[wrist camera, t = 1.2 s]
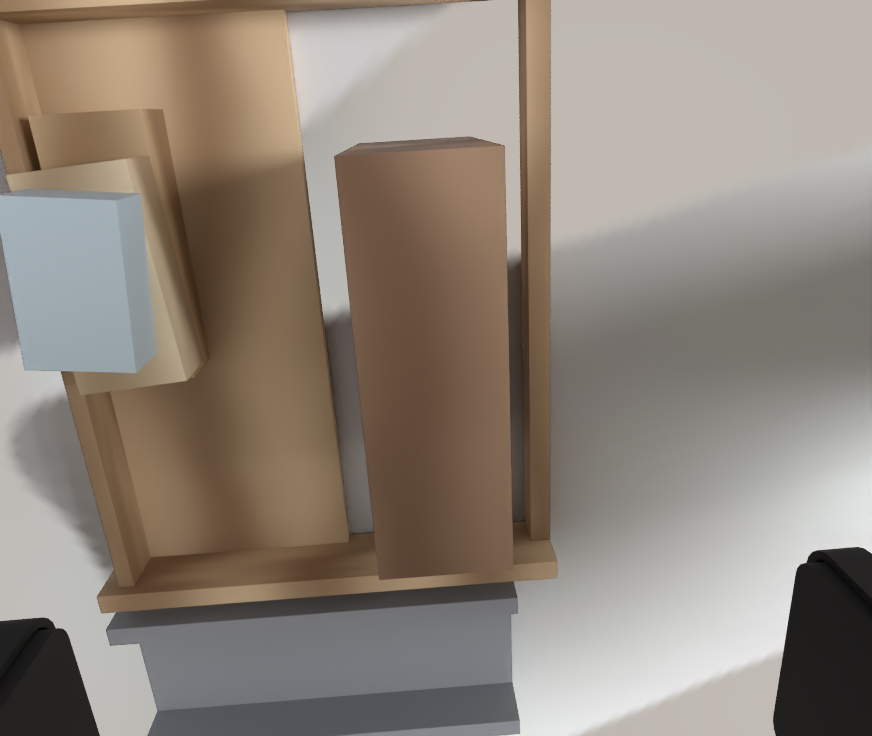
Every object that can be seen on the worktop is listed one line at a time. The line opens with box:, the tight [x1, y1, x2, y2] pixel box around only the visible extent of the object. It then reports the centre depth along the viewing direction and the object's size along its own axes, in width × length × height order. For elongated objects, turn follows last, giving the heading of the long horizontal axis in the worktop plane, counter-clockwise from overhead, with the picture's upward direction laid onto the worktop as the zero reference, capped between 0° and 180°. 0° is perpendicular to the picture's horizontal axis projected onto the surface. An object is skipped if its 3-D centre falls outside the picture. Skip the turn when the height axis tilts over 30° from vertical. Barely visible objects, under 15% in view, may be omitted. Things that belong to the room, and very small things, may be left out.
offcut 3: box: [5, 155, 204, 395], centre depth 22 cm, size 4×7×2 cm, turn 8°
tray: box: [0, 0, 557, 613], centre depth 25 cm, size 18×22×3 cm
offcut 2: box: [28, 109, 210, 378], centre depth 23 cm, size 4×9×2 cm, turn 3°
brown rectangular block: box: [334, 137, 513, 580], centre depth 22 cm, size 4×12×9 cm, turn 3°
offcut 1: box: [0, 189, 157, 373], centre depth 20 cm, size 3×5×2 cm, turn 177°
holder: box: [106, 581, 520, 736], centre depth 30 cm, size 17×8×3 cm, turn 93°
